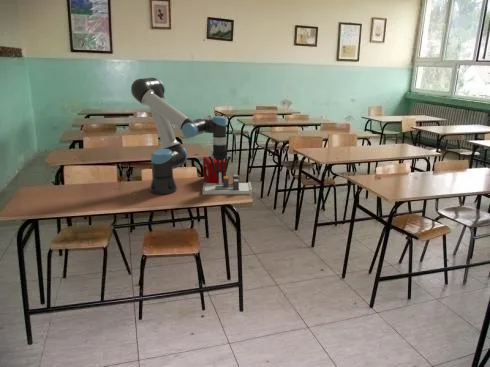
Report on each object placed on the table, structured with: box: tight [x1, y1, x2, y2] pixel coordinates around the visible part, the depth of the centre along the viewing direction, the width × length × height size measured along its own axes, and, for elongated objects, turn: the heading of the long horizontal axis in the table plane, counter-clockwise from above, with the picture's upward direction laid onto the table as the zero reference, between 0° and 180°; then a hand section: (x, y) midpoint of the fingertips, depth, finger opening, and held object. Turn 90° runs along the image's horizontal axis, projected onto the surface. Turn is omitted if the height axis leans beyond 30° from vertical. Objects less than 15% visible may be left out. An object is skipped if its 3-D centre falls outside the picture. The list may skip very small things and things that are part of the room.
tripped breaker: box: [223, 175, 229, 187], centre depth 233 cm, size 3×3×5 cm
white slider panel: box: [202, 174, 253, 195], centre depth 233 cm, size 28×15×8 cm, turn 93°
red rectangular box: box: [202, 156, 227, 183], centre depth 249 cm, size 16×11×15 cm
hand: (220, 184), depth 233 cm, fingers closed
